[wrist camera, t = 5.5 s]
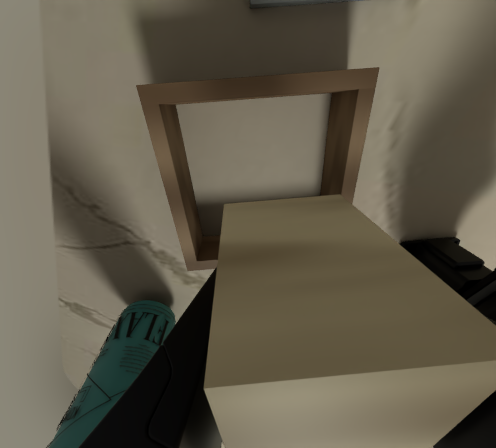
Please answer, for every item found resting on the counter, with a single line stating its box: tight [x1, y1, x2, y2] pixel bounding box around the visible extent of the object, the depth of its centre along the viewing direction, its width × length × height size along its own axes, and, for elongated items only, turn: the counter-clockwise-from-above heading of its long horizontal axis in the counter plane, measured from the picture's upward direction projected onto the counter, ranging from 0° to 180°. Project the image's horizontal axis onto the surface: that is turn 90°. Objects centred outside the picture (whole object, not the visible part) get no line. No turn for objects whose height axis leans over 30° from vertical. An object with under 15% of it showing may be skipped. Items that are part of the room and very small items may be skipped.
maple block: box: [204, 194, 496, 448], centre depth 7 cm, size 4×4×6 cm
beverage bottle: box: [48, 300, 176, 448], centre depth 18 cm, size 6×7×20 cm
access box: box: [136, 67, 379, 271], centre depth 17 cm, size 14×14×4 cm
